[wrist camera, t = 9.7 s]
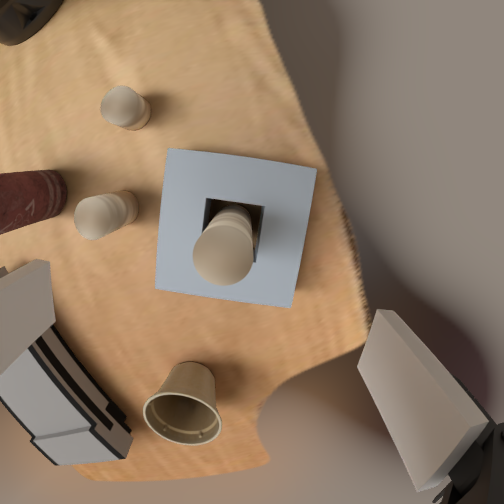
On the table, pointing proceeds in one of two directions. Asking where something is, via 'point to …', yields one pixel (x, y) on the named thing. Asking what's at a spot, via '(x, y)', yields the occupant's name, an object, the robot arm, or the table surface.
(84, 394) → the game console
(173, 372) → the flower pot
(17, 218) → the can
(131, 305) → the table surface
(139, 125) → the dowel short
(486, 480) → the robot arm
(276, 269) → the hole block
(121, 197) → the dowel medium
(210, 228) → the dowel long
